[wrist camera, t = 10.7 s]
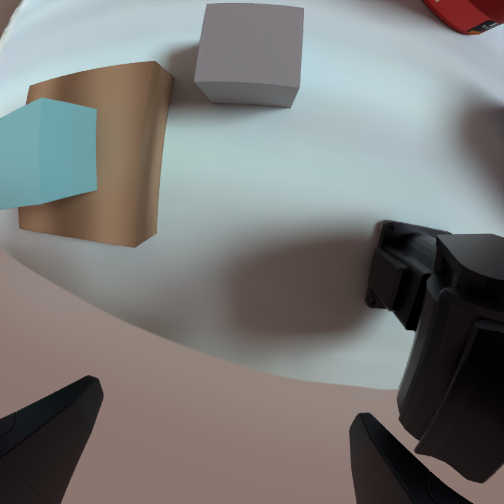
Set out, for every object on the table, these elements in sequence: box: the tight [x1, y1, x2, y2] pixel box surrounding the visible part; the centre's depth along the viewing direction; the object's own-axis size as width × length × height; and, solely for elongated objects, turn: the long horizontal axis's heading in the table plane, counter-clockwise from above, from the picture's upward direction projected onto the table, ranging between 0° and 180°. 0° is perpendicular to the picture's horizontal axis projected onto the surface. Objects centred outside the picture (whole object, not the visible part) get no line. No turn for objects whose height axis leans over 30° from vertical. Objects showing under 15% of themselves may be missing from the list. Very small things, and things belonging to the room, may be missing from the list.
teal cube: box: [0, 98, 97, 210], centre depth 11 cm, size 5×5×5 cm
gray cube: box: [194, 3, 304, 108], centre depth 13 cm, size 5×5×5 cm
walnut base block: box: [18, 61, 174, 248], centre depth 16 cm, size 11×11×4 cm
